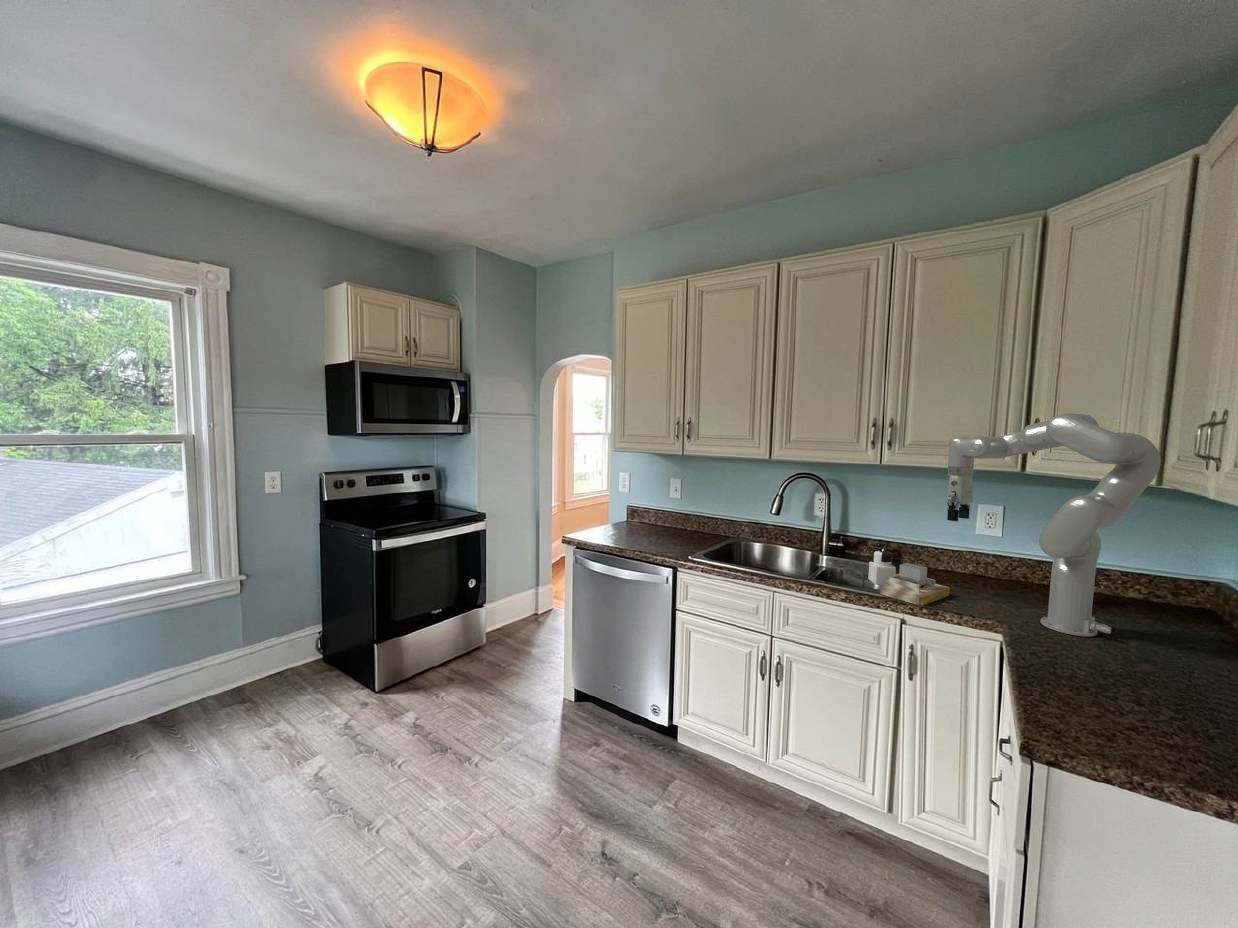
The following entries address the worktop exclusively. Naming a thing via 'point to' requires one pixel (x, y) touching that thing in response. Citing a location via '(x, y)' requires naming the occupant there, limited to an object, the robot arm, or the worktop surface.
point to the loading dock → (914, 590)
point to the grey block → (913, 574)
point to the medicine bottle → (881, 568)
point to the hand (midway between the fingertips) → (958, 519)
